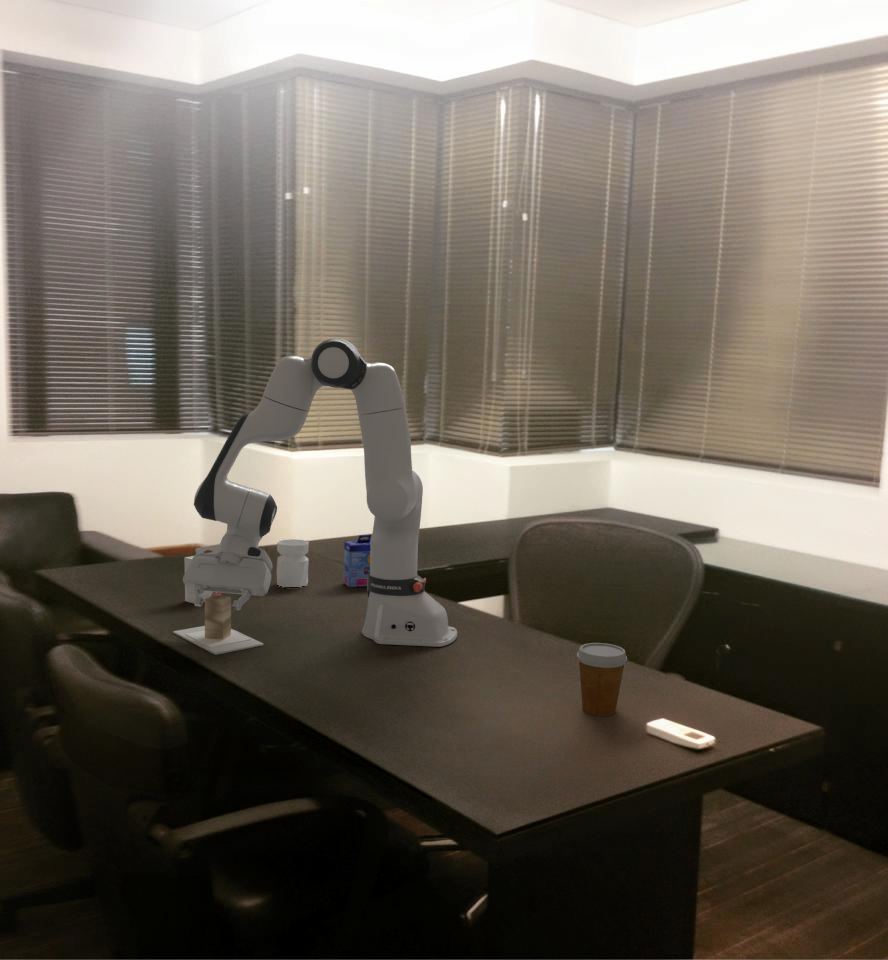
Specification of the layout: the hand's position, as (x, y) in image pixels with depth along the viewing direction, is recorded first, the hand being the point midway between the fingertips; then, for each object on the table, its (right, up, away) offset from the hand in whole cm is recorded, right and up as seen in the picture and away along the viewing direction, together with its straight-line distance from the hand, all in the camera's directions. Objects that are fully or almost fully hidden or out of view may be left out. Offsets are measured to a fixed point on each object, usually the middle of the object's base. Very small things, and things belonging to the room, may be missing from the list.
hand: (216, 607), depth 231 cm
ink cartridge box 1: (-11, -3, +35) cm, 37 cm away
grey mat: (0, -7, +2) cm, 8 cm away
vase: (+9, -1, +55) cm, 55 cm away
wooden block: (0, -7, +2) cm, 7 cm away
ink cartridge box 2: (+28, -1, +57) cm, 64 cm away
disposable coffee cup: (+81, -15, -35) cm, 90 cm away
